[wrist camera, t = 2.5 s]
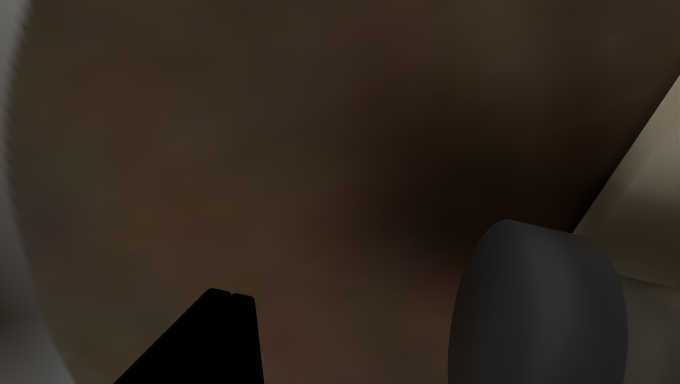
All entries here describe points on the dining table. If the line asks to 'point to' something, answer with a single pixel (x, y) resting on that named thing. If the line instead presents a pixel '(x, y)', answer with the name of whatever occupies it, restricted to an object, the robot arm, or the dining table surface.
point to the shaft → (558, 315)
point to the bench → (643, 202)
